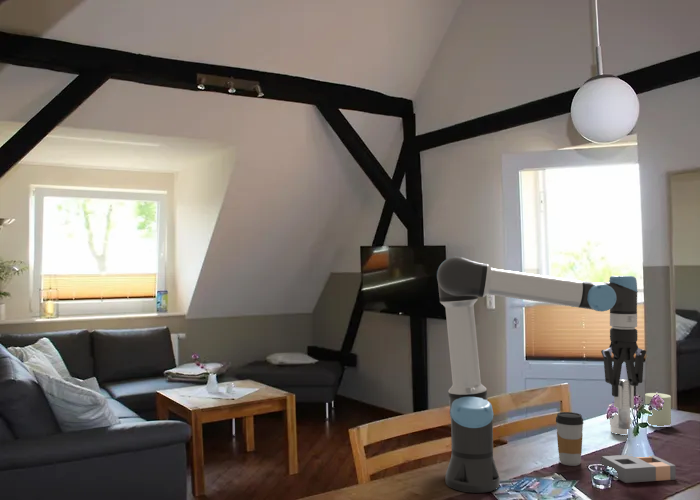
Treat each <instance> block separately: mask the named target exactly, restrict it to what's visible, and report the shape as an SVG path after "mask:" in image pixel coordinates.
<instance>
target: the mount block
mask: <svg viewBox="0 0 700 500" xmlns="http://www.w3.org/2000/svg"><path fill="white" fill-rule="evenodd" d="M628 455H629V454H618V455H604V456H603V455H602V456H601V466H602V465H604V466H609V467H612V468H614V469H615V470H616V471H617V473H618V480H619V481H621V482H623V483H626V484H630V483H640V482H656V481H658V482H659V481H671V480H673V481H674V480H677V477H676V476H677V475H676V474H677V473H676V471H677V470H676V468H677V467H676V464H674V463H671V462H668V461H667V460H665V459H663V458H660V457H658V456H656V455H653V454H652V456H649V457H633V456H628Z"/></svg>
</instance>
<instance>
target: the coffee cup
mask: <svg viewBox="0 0 700 500" xmlns="http://www.w3.org/2000/svg"><path fill="white" fill-rule="evenodd" d="M555 422H556V437H557V452H558V460H559V462H560V463H561V464H562V465H564V466H579V465H580V464H581V461H582V452H583V451H582V450H583V449H582V447H583V431H584V430H583V429H584V428H583V426H584V418H583V416H582V415H581V413H577V412H571V411H562V412H558V413H557V414H556V417H555Z"/></svg>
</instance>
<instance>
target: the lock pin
mask: <svg viewBox="0 0 700 500" xmlns="http://www.w3.org/2000/svg"><path fill="white" fill-rule="evenodd" d="M619 386H622V409H619V408H618V428H620V429H630V381H629V380H628V379H622V378H620V382H619Z"/></svg>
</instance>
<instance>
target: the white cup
mask: <svg viewBox="0 0 700 500" xmlns="http://www.w3.org/2000/svg"><path fill="white" fill-rule="evenodd" d="M612 404H613V403H611V404H608V407H609V406H611V405H612ZM632 423H633V422H632V421H631V419H630V424H631V425H632ZM609 425H610V433H611V432H613V433H617V434H627V429H620V428H618V415H617V414H615V415H614V418H613V419H610V418H609Z"/></svg>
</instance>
